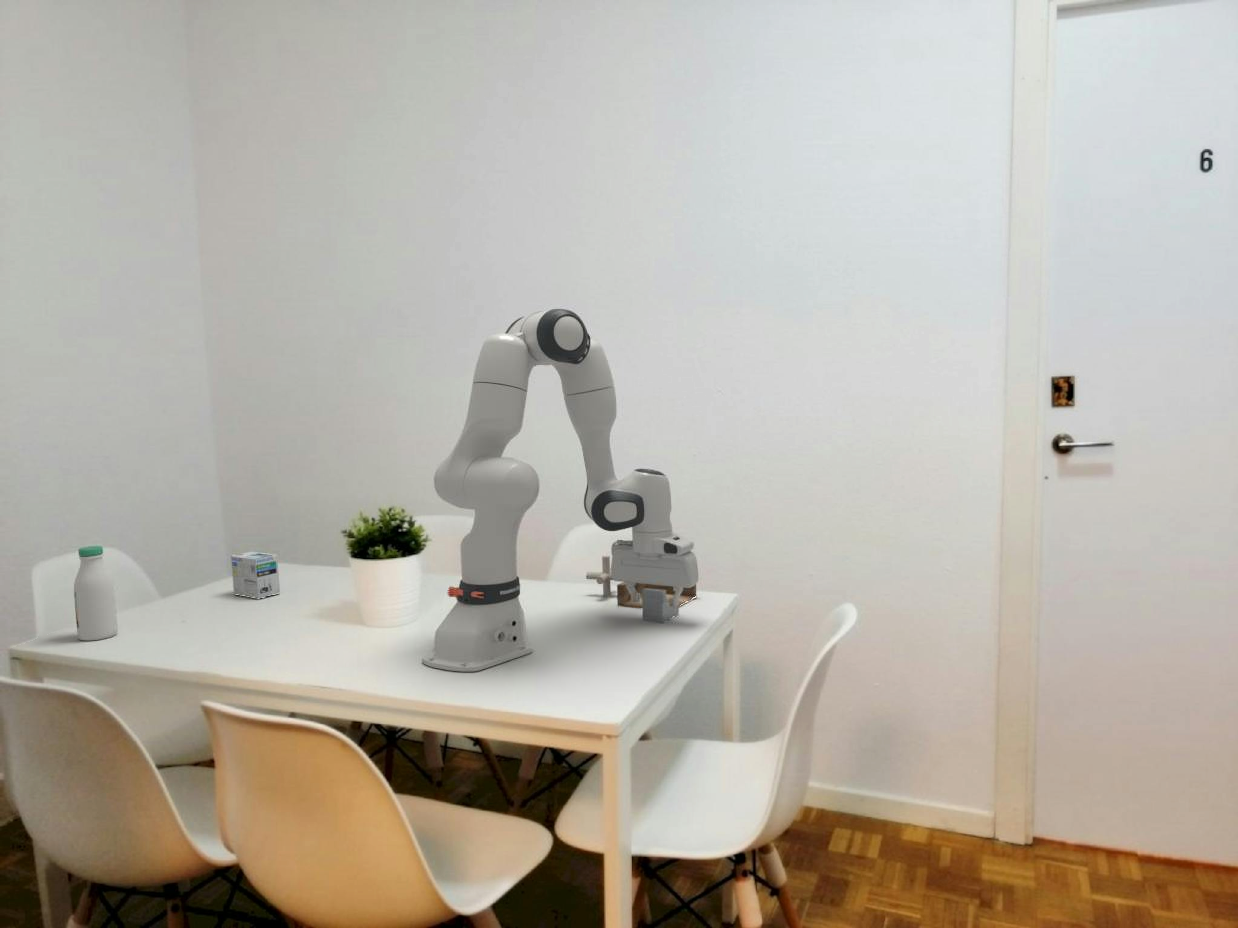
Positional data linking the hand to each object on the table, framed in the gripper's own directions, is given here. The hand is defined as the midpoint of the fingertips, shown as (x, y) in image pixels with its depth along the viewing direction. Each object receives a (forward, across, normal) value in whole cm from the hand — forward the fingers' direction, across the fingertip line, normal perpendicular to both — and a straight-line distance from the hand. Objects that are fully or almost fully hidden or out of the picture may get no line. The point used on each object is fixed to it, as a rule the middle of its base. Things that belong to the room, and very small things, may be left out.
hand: (654, 603), depth 200 cm
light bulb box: (+3, -106, -19) cm, 108 cm away
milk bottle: (+3, -108, -60) cm, 123 cm away
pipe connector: (+4, -20, +15) cm, 25 cm away
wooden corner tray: (+4, -6, +14) cm, 16 cm away
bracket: (+4, 0, +2) cm, 4 cm away
